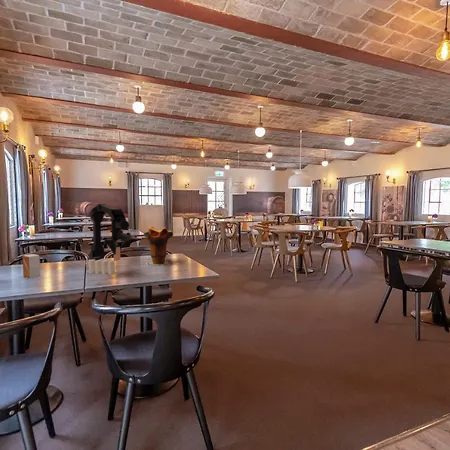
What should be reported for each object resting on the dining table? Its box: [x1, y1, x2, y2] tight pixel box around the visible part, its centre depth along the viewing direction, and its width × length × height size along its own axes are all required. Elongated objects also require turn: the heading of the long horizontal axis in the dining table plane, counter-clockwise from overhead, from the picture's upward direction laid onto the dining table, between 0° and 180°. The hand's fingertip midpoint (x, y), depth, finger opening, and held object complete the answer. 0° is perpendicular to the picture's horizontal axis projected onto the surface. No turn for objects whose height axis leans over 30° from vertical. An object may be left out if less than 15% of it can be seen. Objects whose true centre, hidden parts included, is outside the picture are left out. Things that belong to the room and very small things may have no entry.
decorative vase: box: [142, 226, 174, 267], centre depth 232 cm, size 21×23×28 cm
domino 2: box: [94, 259, 103, 275], centre depth 202 cm, size 5×2×8 cm, turn 169°
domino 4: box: [107, 259, 116, 275], centre depth 201 cm, size 5×2×8 cm, turn 169°
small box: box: [21, 253, 41, 279], centre depth 193 cm, size 8×6×13 cm
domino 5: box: [113, 247, 121, 262], centre depth 198 cm, size 5×2×8 cm, turn 169°
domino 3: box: [101, 259, 109, 275], centre depth 201 cm, size 5×2×8 cm, turn 169°
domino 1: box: [88, 259, 95, 274], centre depth 203 cm, size 5×2×8 cm, turn 169°
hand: (116, 253), depth 198 cm, fingers closed on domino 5, 5 cm apart
